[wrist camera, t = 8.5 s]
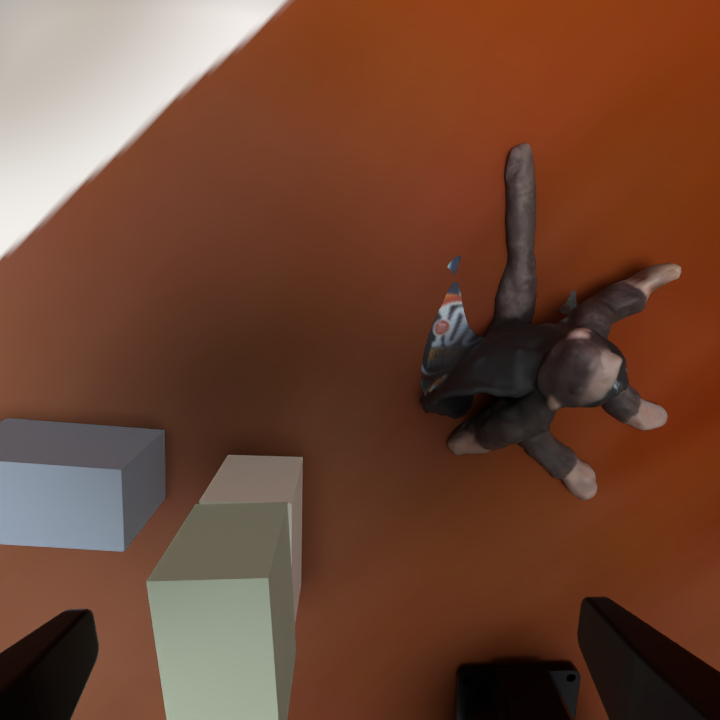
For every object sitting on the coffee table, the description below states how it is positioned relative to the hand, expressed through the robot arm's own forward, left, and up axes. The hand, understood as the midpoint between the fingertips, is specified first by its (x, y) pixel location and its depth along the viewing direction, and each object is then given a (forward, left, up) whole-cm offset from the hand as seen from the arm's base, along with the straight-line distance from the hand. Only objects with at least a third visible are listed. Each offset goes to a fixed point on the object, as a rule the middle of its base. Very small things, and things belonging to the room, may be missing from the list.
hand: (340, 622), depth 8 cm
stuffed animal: (+3, -8, -13) cm, 16 cm away
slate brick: (-2, +12, -12) cm, 17 cm away
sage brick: (-6, +4, -8) cm, 11 cm away
